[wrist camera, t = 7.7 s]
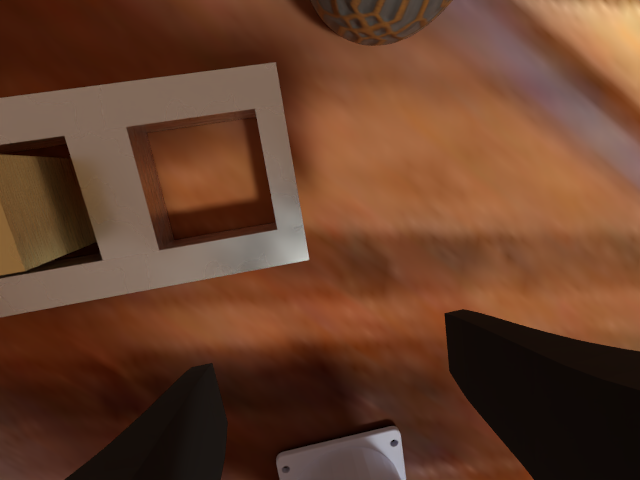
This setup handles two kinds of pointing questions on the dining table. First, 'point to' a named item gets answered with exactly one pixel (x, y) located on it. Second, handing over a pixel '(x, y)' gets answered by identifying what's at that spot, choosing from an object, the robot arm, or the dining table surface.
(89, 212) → the white slotted frame
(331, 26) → the vase
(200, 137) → the dining table surface
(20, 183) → the block
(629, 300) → the dining table surface
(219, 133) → the dining table surface
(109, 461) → the robot arm
